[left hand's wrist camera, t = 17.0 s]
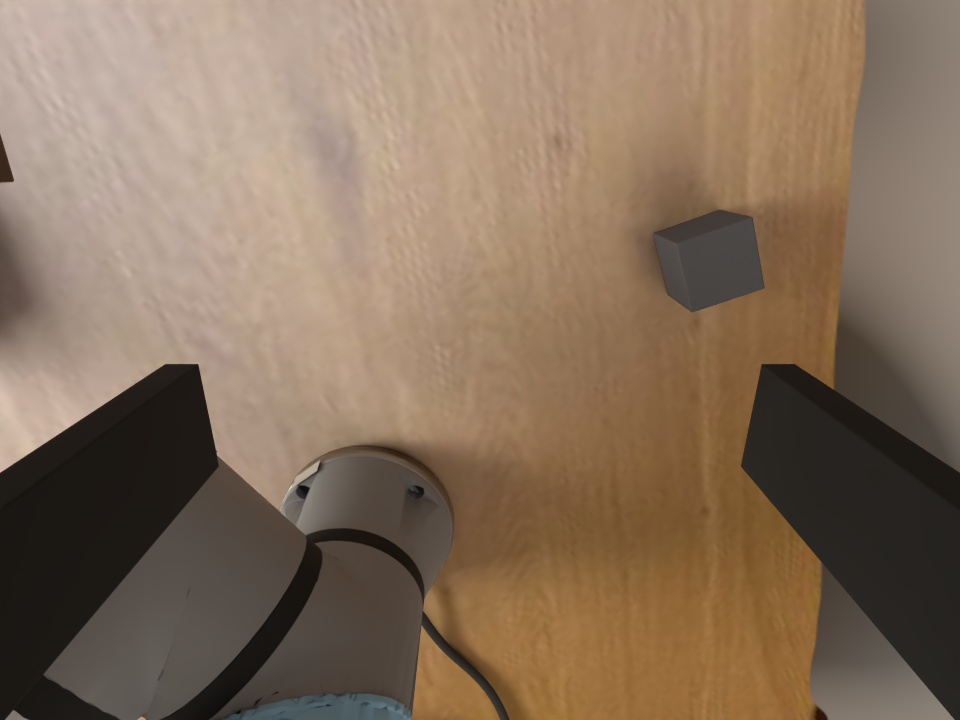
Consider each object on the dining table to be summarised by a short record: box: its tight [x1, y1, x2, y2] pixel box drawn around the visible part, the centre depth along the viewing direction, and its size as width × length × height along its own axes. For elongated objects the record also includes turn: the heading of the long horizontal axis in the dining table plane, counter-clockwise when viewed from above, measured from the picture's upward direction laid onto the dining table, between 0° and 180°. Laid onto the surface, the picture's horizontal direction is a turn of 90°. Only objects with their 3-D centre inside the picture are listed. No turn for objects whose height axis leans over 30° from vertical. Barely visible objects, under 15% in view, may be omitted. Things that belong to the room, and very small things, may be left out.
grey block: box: [653, 210, 764, 312], centre depth 37 cm, size 5×5×5 cm
